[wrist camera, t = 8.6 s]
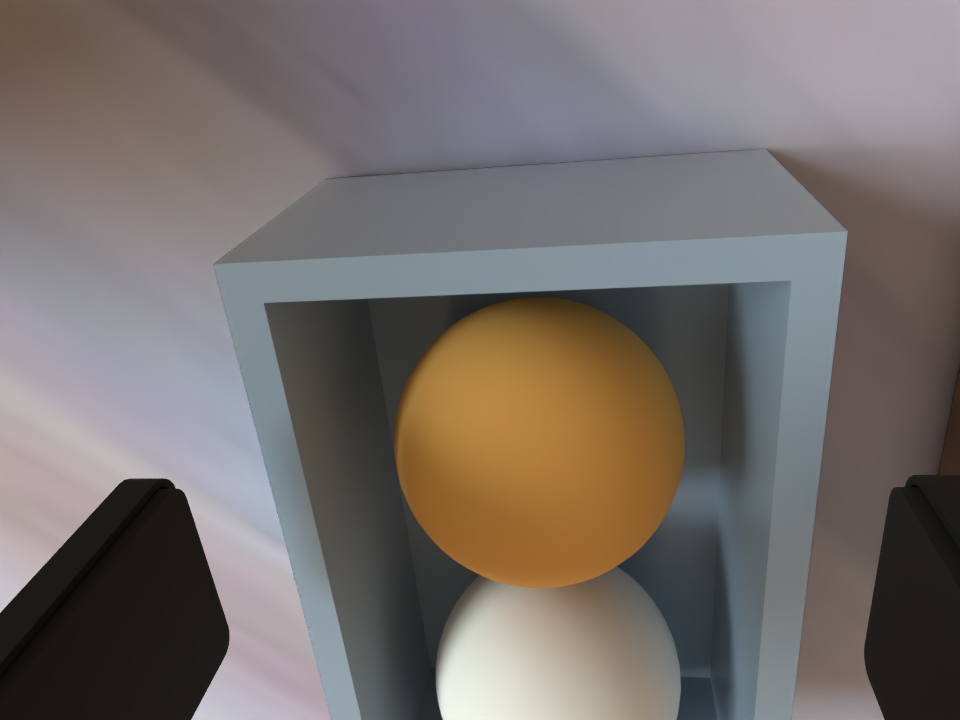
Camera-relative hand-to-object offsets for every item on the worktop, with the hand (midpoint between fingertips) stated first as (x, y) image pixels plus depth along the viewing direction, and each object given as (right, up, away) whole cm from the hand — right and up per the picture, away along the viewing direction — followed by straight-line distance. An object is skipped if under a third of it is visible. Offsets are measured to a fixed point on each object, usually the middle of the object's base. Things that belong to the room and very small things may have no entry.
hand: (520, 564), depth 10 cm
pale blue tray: (+1, 0, +7) cm, 7 cm away
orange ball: (0, +1, +3) cm, 4 cm away
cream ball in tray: (+1, -4, +6) cm, 7 cm away
